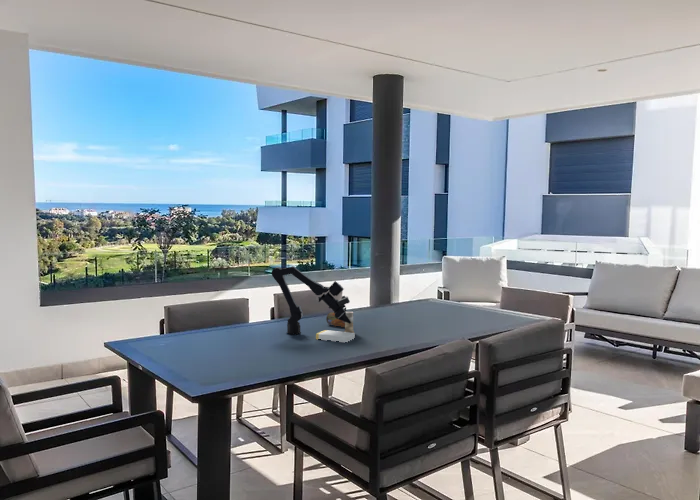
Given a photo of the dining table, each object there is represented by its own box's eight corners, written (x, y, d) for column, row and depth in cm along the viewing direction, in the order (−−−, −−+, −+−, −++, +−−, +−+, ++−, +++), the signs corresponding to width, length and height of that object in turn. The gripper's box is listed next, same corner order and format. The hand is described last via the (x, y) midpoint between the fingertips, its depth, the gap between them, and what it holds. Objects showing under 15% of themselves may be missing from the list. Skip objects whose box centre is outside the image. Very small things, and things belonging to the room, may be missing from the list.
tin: (326, 325, 327) (326, 311, 326) (328, 324, 330) (328, 310, 329) (347, 328, 320) (348, 314, 319) (350, 327, 323) (350, 313, 322)
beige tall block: (344, 335, 300) (344, 313, 299) (344, 333, 305) (344, 311, 304) (353, 335, 300) (354, 313, 299) (354, 333, 305) (354, 311, 304)
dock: (316, 339, 289) (316, 333, 289) (324, 335, 299) (324, 329, 299) (346, 342, 282) (346, 337, 281) (354, 338, 292) (354, 333, 292)
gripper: (340, 294, 292) (361, 314, 292) (341, 289, 310) (360, 308, 311) (326, 308, 292) (346, 328, 293) (328, 303, 311) (347, 322, 311)
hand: (350, 321), depth 302 cm, fingers open, 9 cm apart
